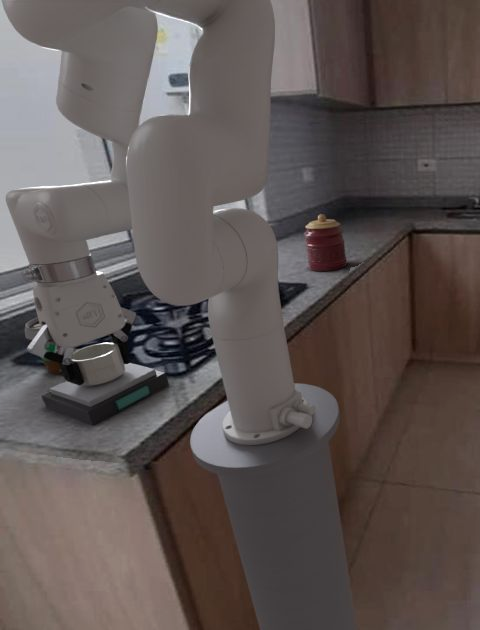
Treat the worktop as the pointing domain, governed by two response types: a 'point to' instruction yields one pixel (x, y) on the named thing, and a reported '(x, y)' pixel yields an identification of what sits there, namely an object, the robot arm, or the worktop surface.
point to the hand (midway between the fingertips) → (100, 371)
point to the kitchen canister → (325, 245)
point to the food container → (31, 332)
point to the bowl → (99, 363)
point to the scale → (105, 394)
